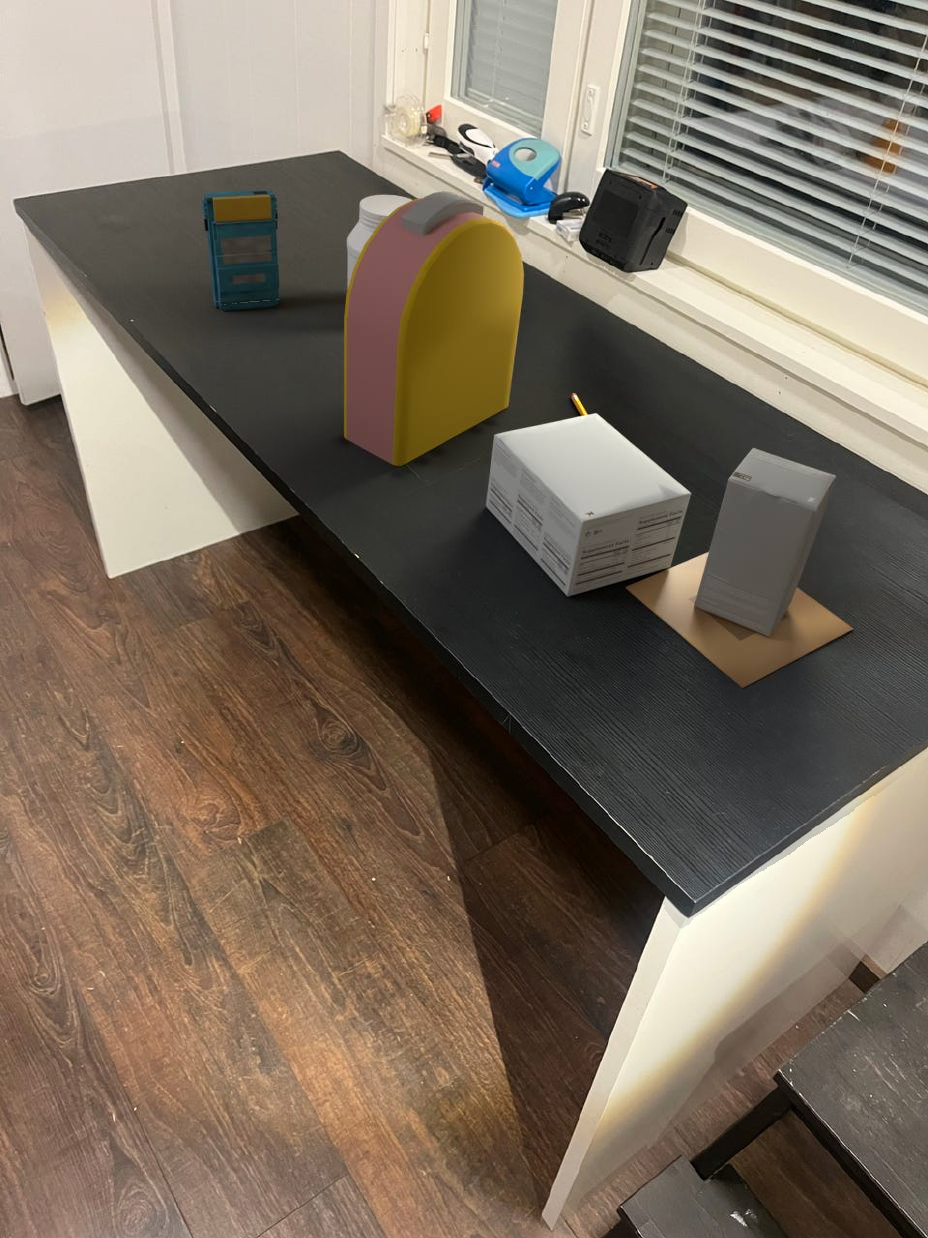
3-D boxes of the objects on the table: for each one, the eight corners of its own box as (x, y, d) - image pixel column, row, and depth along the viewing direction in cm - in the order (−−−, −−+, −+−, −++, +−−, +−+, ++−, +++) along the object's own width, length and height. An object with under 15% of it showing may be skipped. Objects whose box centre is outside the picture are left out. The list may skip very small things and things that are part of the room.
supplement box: (673, 568, 98) (695, 492, 92) (566, 600, 93) (582, 522, 87) (583, 481, 109) (598, 409, 103) (483, 506, 104) (492, 431, 97)
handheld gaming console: (277, 295, 138) (273, 188, 128) (285, 308, 135) (281, 199, 125) (210, 301, 135) (200, 191, 125) (216, 314, 132) (206, 203, 122)
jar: (374, 334, 132) (377, 224, 122) (334, 308, 137) (334, 200, 127) (438, 315, 138) (446, 209, 128) (397, 291, 143) (402, 187, 133)
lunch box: (456, 378, 124) (474, 165, 107) (510, 405, 120) (539, 188, 103) (341, 436, 112) (340, 205, 94) (398, 467, 108) (408, 232, 90)
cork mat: (853, 629, 94) (853, 628, 94) (742, 688, 86) (742, 687, 86) (734, 541, 103) (734, 540, 103) (625, 587, 95) (625, 587, 95)
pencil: (575, 397, 124) (576, 393, 123) (607, 454, 114) (608, 449, 114) (569, 398, 123) (570, 393, 123) (601, 454, 114) (602, 449, 113)
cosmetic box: (790, 606, 95) (846, 473, 85) (767, 645, 91) (823, 510, 80) (711, 572, 98) (756, 440, 88) (685, 609, 94) (729, 473, 83)
